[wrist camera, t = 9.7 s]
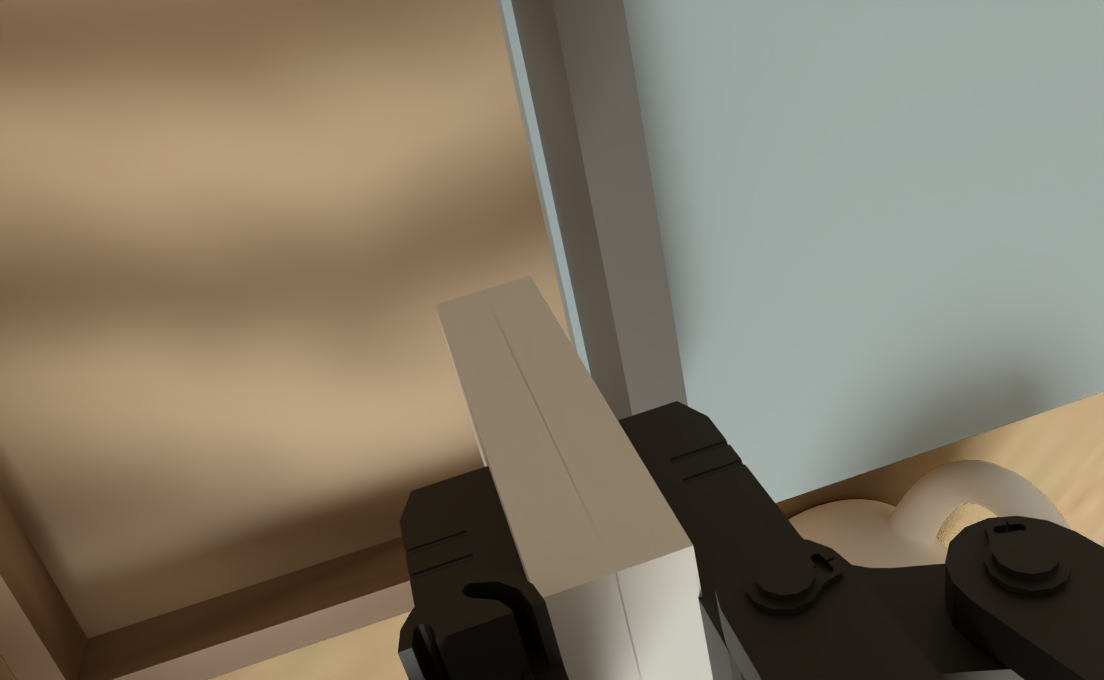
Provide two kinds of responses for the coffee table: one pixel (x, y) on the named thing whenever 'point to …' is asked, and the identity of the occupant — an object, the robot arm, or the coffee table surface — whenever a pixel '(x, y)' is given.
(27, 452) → the brown wooden frame
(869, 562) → the mug
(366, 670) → the coffee table surface
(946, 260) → the lid
